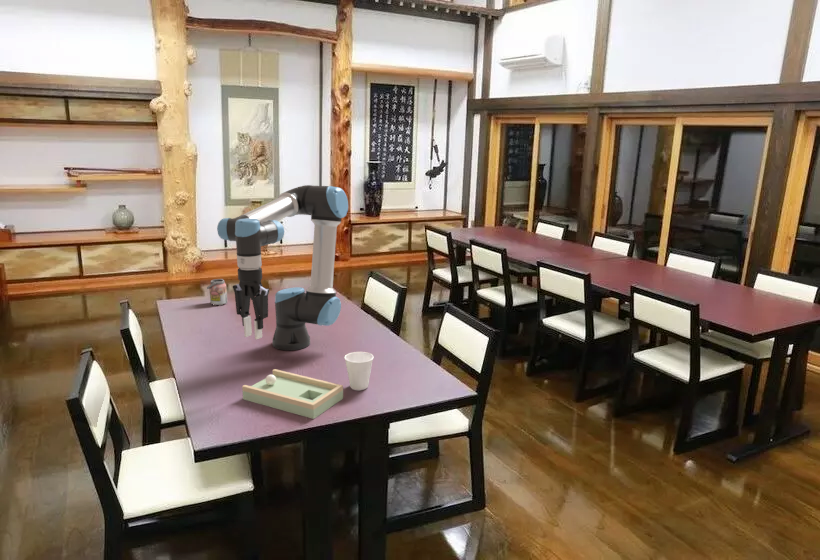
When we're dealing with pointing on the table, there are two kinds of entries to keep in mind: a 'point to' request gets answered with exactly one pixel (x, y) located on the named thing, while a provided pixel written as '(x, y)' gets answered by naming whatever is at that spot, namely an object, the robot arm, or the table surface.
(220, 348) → the table surface
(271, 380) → the ball
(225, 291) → the beverage can
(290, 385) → the green tray with hole
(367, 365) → the cup
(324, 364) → the table surface
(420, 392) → the table surface
